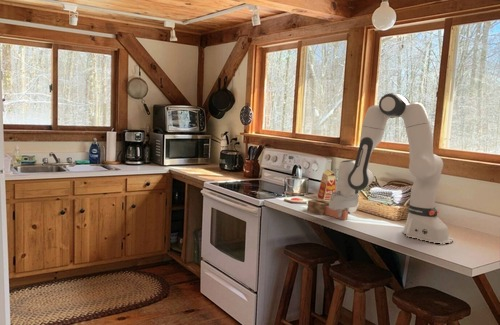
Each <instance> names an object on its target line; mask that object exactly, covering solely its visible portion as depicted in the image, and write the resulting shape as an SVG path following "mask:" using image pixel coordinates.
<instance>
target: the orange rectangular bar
mask: <svg viewBox="0 0 500 325" xmlns="http://www.w3.org/2000/svg"><path fill="white" fill-rule="evenodd" d="M341 213H342V214H343V215H342V217H338V211H337V210H332V209H329V206H327V205H326V206H325V214H324V215H326V216H330V217H331V218H336V219H339V220H342V221H348V215H349V212H348V211H345V210H342V211H341Z"/></svg>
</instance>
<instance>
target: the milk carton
mask: <svg viewBox="0 0 500 325" xmlns="http://www.w3.org/2000/svg"><path fill="white" fill-rule="evenodd" d="M336 180H337V179H336V175H335V171H333V170H332V169H331V170H330V169H329V167H327V168H326V170H324V171H323V172H322V175H321V179H320V184H319V189H318V192H317V196H316V199H320V200H324V201H328V202H329V201H330V197H331V194H332V193H333V192H336V186H337V181H336Z"/></svg>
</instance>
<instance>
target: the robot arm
mask: <svg viewBox="0 0 500 325" xmlns="http://www.w3.org/2000/svg"><path fill="white" fill-rule="evenodd" d="M366 110H367V111H366V113H365V116H364V118H363V122H362V126H361V131H360V140H359V145H358V146H359V147H358V150H357V154H356V159H355V160H352V159H349V160H348V159H346V160H342V161H340V162H339V165H338V169H337V181H336V192H333V193H332V194H331V197H330V201H328V202H329V209H332V210H337V211H338V217H342V215H343V214H342V213H341V211H342V209H345V211H348V210H349V208H350V207H356V206H357V205H358V204H359V199H360V198H359V194H360V191H363V190H364V189H366V188H367V187H368V186H370V185H371V184H372V183H373V182H374V177H375V176H374V172H373V171H372V169H371V170H370V168H368V167H369V163H370V160H371V159H370V158H371V155H372V153H373V151H374V150H375V149H376V147H377V146H378V145H379V144H381V142H382V140H383V137H384V133H385V130H386V125H387V122H388V120H389V119H393V118H394V119H395V118H402V120H403V123H404V129H405V133H406V137H407V142H408V152H409V153H408V154H409V163H408V171H409V172H410V173H411V175H412V176H413V177H414V181H413V184H412V186H411V190H410V197H409V204H408V205H407V206H408V208H407V218H406V222H405V226H404V227H403V228H404V229H403V231H402V233H403V234H404V235H405V234H406V235H405V236H406V237H407V236H408V237H407V238H409V237H412V238H411V239H413V238H417V239H416V240H418V239H421V240H420V241H422V240H426V241H430V242H435V243H449V242H452V241H453V242H454V238H453V237H450V236H449V227H448V225H446V223H444V222H443V220H441V219H440V218H439V217H438V213H439V212H440V209H439V210H437V209H436V206H435V205H436V197H437V189H438V187H439V183H440V178H441V175H442V172H443V168H444V162H443V159H442V157H440V156H439V155H437V154H435V153H434V135H433V132H432V130H433V129H432V127H431V122H430V119H429V115H428V112H427V110H426V108H425V106H424V104H423V103H420V102H410V100H409V99H408V98H407V97H406V96H404V95H402V94H399V93H393V92H390V93H389V92H388V93H387V94H386V93H385V94H384V95H382V96H381V98H380V99H379V102H378V104H377V105H375V104H373V105H371V106H369V107H368V108H367V109H366ZM358 206H359V205H358ZM358 206H357V207H358ZM426 241H425V242H426ZM430 242H429V243H430ZM453 242H452V243H453ZM435 243H434V244H435ZM449 244H450V243H449Z"/></svg>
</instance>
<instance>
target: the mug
mask: <svg viewBox="0 0 500 325" xmlns="http://www.w3.org/2000/svg"><path fill="white" fill-rule="evenodd" d="M359 205H360V204H359V203H358V205H357V206H356V207H350V208H349V210H348V214H349V213H350V214H354V213H356V211H357V210H358V206H359ZM342 210H345V209H342Z"/></svg>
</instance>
